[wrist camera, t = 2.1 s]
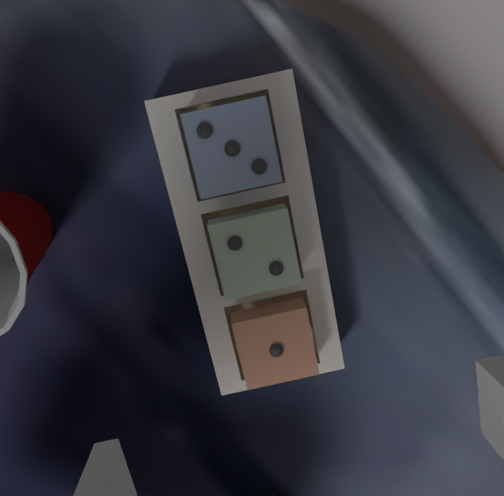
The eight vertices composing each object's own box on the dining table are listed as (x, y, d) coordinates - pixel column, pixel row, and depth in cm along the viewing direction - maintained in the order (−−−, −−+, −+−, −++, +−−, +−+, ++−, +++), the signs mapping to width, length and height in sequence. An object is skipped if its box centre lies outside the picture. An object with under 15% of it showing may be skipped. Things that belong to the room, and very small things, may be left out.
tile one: (246, 375, 39) (247, 391, 37) (230, 312, 38) (231, 325, 35) (314, 360, 39) (320, 375, 37) (301, 297, 38) (306, 308, 35)
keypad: (221, 374, 43) (221, 395, 40) (151, 103, 36) (144, 101, 33) (335, 349, 43) (344, 368, 40) (286, 73, 36) (292, 68, 33)
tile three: (202, 194, 35) (200, 199, 33) (182, 114, 33) (179, 114, 31) (278, 177, 35) (282, 181, 33) (262, 97, 33) (265, 95, 31)
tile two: (225, 290, 37) (225, 301, 35) (208, 219, 35) (207, 226, 33) (297, 274, 37) (302, 284, 35) (283, 203, 35) (287, 208, 33)
